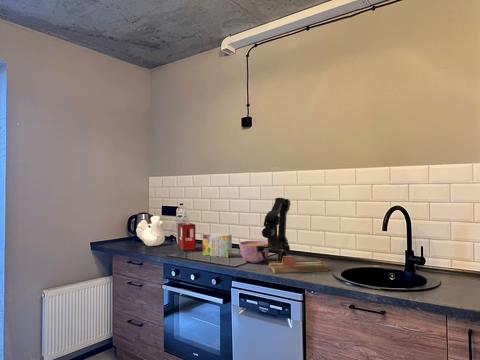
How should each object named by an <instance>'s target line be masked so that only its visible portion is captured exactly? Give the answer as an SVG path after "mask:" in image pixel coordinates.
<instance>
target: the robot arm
mask: <svg viewBox="0 0 480 360" xmlns="http://www.w3.org/2000/svg"><path fill="white" fill-rule="evenodd" d="M274 201H275V202H274V203H273V205H272V208H271V210H270V211H268V212H267V213H266V215H265V217H264V221H263V225H262V226H263V229H262V231H261V236H262V237H263V238H265V239H267V242H268V246H265V247H264V246H263V245H257V246H256V251H257V252H259V253H261V254H262V257H263V259H264V260H263V262H264V264H266V261H267V260H266V259H267V258H266V259H265V252H264V250H269V251H271V252H275V253H277V259H276V262H279V261H280V263H281V261H282V258H283V256H288V253H290V252H291V248H290V244H289V240H288V237H287V236H286V234H287V233H286V231H287V230H286V229H287V215H288V212H289V210H290V207H291V204H292V203H291V200H289V198H285V197H276V198H275V199H274Z"/></svg>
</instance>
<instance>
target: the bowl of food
mask: <svg viewBox="0 0 480 360" xmlns="http://www.w3.org/2000/svg"><path fill="white" fill-rule="evenodd" d="M238 244H239V245H238V246H239V249H240V253H241V257H242V258H243V259H244V260H246V262H247V261H248V263H250V264H251V263H252V264H253V263H254V264H258V263H262V261H263V262H264V259H263V257H262V254H261V253H259V252H257V251H256V246H257V245H263V246H264V247H265V246H268V240H267V241H266V240H245V241H241V242H238ZM264 252H265V259H267V258H268V256H269V252H270V250H264Z"/></svg>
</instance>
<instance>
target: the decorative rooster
mask: <svg viewBox="0 0 480 360" xmlns="http://www.w3.org/2000/svg"><path fill="white" fill-rule="evenodd" d="M150 221H151V223H148V222H147V220H145V219H142V220H141V221H140V222H139V223H138V224H137V226H136V227H137V228H136V229H135V231H136V235H137V237H138V238H139V239H140V240H141V241H142V242H143V243H144V244H145V245H146V246H147V247H154V246H155V247H156V246H161V245H162V244H163V243H164V242H165V239H166V237H165V232H164V230H163V225H164V224H163V223H164V221H162V219H161V216H160V215H159V216H158V215H154V216H151V217H150ZM149 226H150V227H149Z"/></svg>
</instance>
